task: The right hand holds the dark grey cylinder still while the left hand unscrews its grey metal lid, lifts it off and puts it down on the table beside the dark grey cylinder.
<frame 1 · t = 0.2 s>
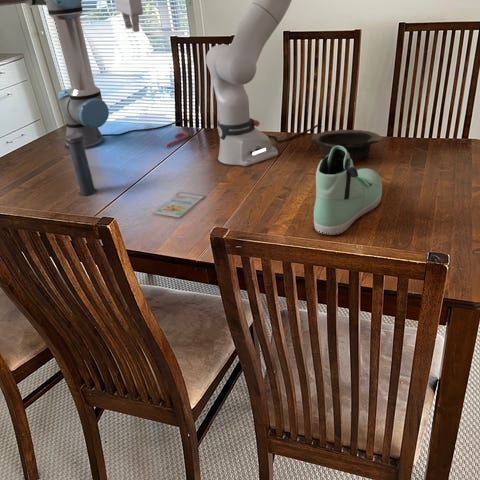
right hand: (132, 29, 144), 48 cm above the table, tool pointing down, fingers open, 8 cm apart
baking ingredient package: (179, 205, 148), on the table
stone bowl: (344, 155, 173), on the table
dark grey cylinder: (88, 192, 161), on the table
lid: (74, 137, 151), point 19 cm above the table, screwed on, not yet turned
candy cane: (176, 141, 199), on the table
sneaker: (348, 208, 139), on the table
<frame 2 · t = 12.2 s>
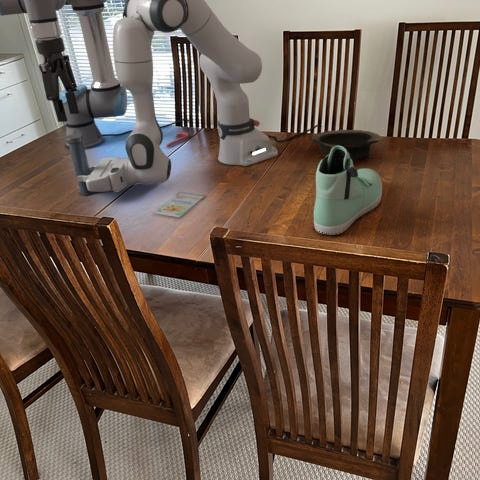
left hand: (68, 117, 148), 26 cm above the table, tool pointing down, fingers open, 7 cm apart
right hand: (81, 174, 158), 7 cm above the table, tool horizontal, fingers closed on dark grey cylinder, 4 cm apart
dark grey cylinder: (88, 192, 161), on the table, touching right hand
everything else where it was.
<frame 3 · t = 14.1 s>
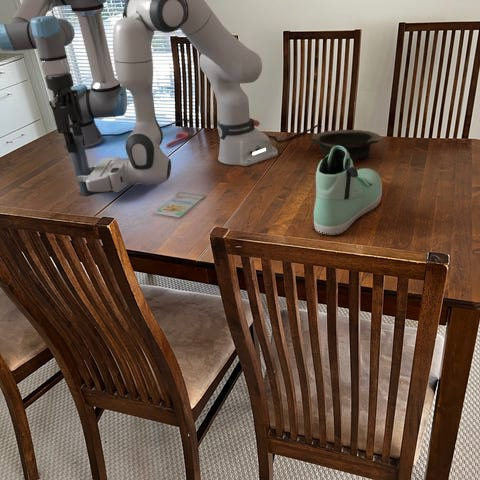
left hand: (77, 148, 153), 15 cm above the table, tool pointing down, fingers closed on lid, 5 cm apart
right hand: (81, 174, 158), 7 cm above the table, tool horizontal, fingers closed on dark grey cylinder, 4 cm apart
dark grey cylinder: (88, 192, 161), on the table, touching right hand
lid: (74, 137, 151), point 19 cm above the table, screwed on, not yet turned, touching left hand
everything else where it was.
when the left hand's fingers open (16 cm above the table, at t = 15.5 s): lid stays where it is, point 20 cm above the table.
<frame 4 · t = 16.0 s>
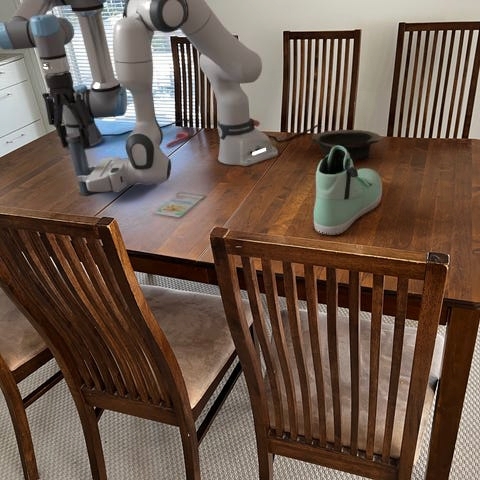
left hand: (76, 146, 153), 16 cm above the table, tool pointing down, fingers open, 7 cm apart
right hand: (81, 174, 158), 7 cm above the table, tool horizontal, fingers closed on dark grey cylinder, 4 cm apart
dark grey cylinder: (88, 192, 161), on the table, touching right hand
lid: (73, 135, 151), point 20 cm above the table, turned 109° so far, risen 0.4 cm, still on its thread
everything else where it was.
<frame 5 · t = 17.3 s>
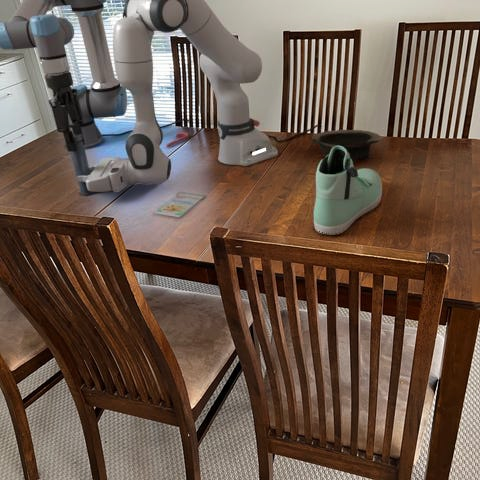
left hand: (76, 147, 153), 16 cm above the table, tool pointing down, fingers closed on lid, 5 cm apart
right hand: (81, 174, 158), 7 cm above the table, tool horizontal, fingers closed on dark grey cylinder, 4 cm apart
dark grey cylinder: (88, 192, 161), on the table, touching right hand
lid: (73, 135, 151), point 20 cm above the table, turned 109° so far, risen 0.4 cm, still on its thread, touching left hand
everything else where it was.
when the left hand's fingers open (0 cm above the table, at t = 24.3 s): lid drops 3 cm, point 1 cm above the table.
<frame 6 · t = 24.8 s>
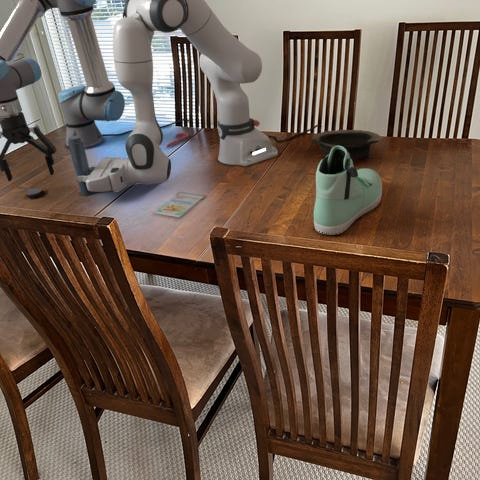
left hand: (31, 176, 160), 6 cm above the table, tool pointing down, fingers open, 13 cm apart
right hand: (81, 174, 158), 7 cm above the table, tool horizontal, fingers closed on dark grey cylinder, 4 cm apart
dark grey cylinder: (88, 192, 161), on the table, touching right hand
lid: (34, 191, 162), point 1 cm above the table, off its thread
everything else where it was.
when the right hand's fingers open (7 cm above the table, at t = 25.0 s): dark grey cylinder stays where it is, on the table.
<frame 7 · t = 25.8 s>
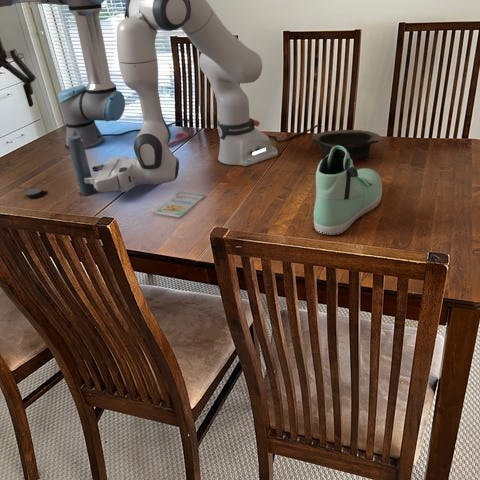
left hand: (8, 108, 148), 29 cm above the table, tool pointing down, fingers open, 13 cm apart
right hand: (89, 174, 158), 6 cm above the table, tool horizontal, fingers open, 8 cm apart
dark grey cylinder: (88, 192, 161), on the table
everything else where it was.
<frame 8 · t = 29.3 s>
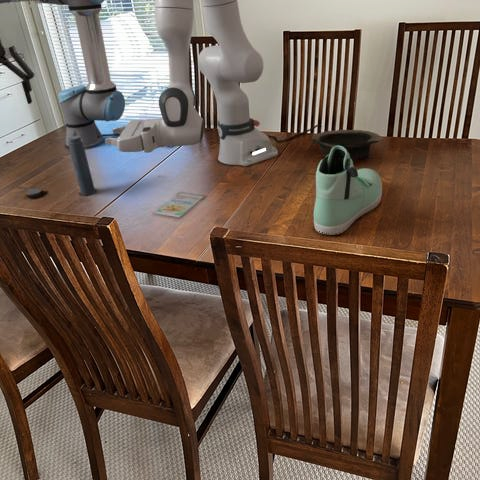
left hand: (7, 105, 147), 30 cm above the table, tool pointing down, fingers open, 13 cm apart
right hand: (109, 136, 151), 19 cm above the table, tool horizontal, fingers open, 8 cm apart
nothing on the table moved.
at the end: lid came off its thread; lid point 1.2 cm above the table; the left hand is holding nothing; the right hand is holding nothing; dark grey cylinder tilted 0°; dark grey cylinder moved 0.0 cm from its start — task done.
